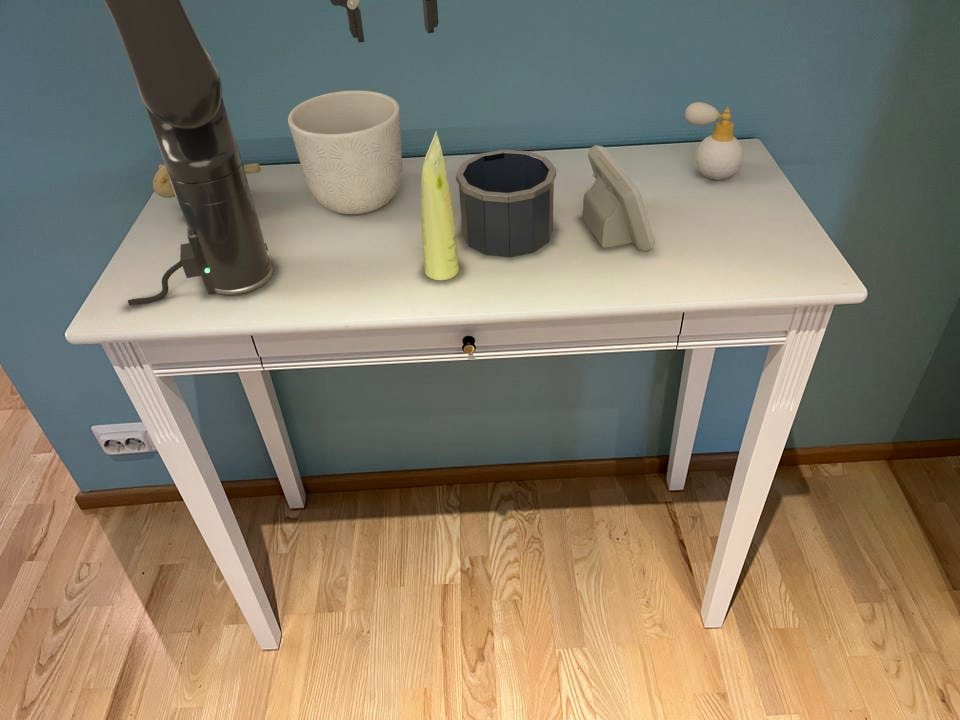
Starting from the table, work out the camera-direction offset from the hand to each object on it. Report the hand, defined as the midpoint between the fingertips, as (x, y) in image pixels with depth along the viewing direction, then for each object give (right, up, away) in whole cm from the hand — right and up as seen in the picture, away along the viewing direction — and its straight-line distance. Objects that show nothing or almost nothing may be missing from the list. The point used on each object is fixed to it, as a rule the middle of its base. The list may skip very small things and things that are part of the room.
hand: (395, 35), depth 89 cm
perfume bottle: (+49, -9, +34) cm, 60 cm away
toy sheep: (-33, -14, +33) cm, 49 cm away
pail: (+14, -20, +23) cm, 34 cm away
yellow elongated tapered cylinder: (+5, -27, +16) cm, 32 cm away
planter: (-10, -13, +33) cm, 37 cm away
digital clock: (+31, -20, +23) cm, 43 cm away
